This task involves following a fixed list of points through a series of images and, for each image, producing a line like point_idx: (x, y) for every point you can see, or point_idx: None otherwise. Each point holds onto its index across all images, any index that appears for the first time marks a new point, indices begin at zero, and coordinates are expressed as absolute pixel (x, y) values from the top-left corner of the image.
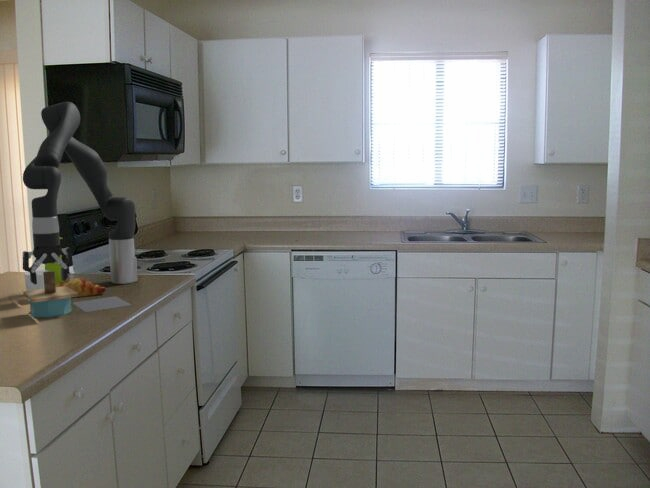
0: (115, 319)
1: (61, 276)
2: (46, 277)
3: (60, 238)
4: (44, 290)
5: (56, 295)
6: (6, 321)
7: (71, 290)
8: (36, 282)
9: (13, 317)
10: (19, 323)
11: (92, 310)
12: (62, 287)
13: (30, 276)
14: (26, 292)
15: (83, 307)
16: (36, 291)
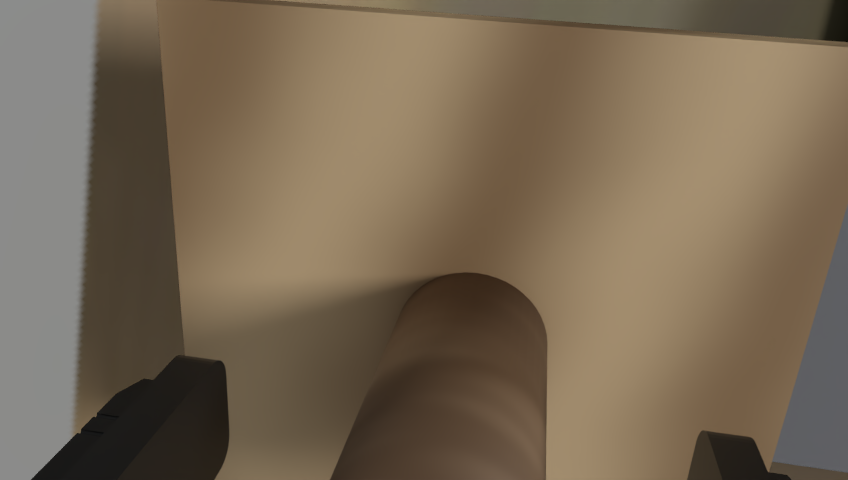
0: None
1: (714, 472)
2: None
3: None
4: (445, 160)
5: None
6: (93, 197)
7: (757, 431)
8: (211, 474)
9: (160, 95)
10: (180, 333)
11: (833, 450)
12: (771, 136)
13: (67, 467)
14: (190, 107)
15: (843, 280)
16: (326, 146)
